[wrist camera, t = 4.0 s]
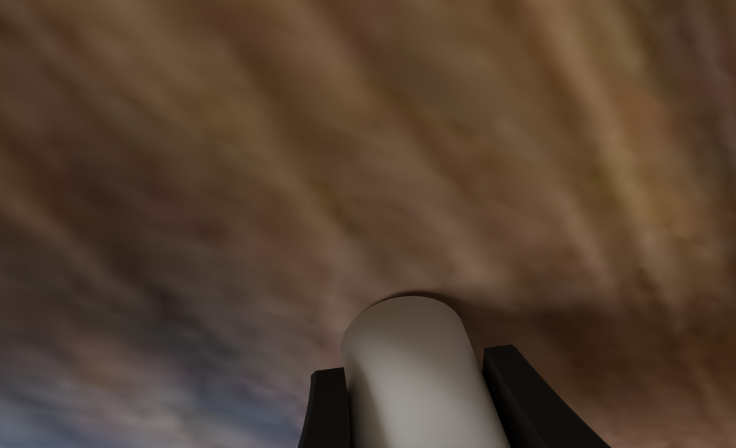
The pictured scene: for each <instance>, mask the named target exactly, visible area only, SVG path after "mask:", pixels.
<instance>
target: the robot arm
mask: <svg viewBox="0 0 736 448" xmlns="http://www.w3.org/2000/svg"><path fill="white" fill-rule="evenodd" d="M482 374H483V377H484V379H485V382H486V385H487V387H488V390H489V392H490V395H491V398H492V400H493V403H494V405H495V408H496V410H497V413H498V416H499V418H500V421H501V423H502V426H503V428H504V431H505V434H506V436H507V439H508V441H509V444H510V446H511V448H611V447H610V446H609V445H608V444H607V443H606V442H604V441H603V440H602V439H601V438H600V437H599V436H598V435H597V434H596V433H595V432H594V431H593V430H592V429H591V428H590V427H589V426H588V425H587V424H586V423H585V422H584V421H583V420H582V419H581V418H580V417H579V416H578V415H577V414H576V413H575V412H574V411H573V410H572V409H571V408H570V407H569V406H568V405H567V404H566V403H565V402H564V401H563V400H562V399H561V398H560V397H559V396H558V395H557V394H556V393H555V391H554V390H553V389H552V388H551V387H550V386H549V385H548V384H547V383H546V382H545V381H544V379H543V378H542V377H541V376H540V375H539V374H538V373H537V372H536V371H535V369H534V368H533V367H532V366H531V365H530V364H529V363H528V361H527V360H526V359H525V358H524V357H523V356H522V354H521V353H520V352H519V351H518V350H517V349H516V348H515V347H514V346H513V345H512V344H511V345H504V346H497V347H489V348H484V358H483V372H482ZM298 448H353V445H352V429H351V420H350V411H349V402H348V394H347V386H346V378H345V370H344V367H341V368H334V369H326V370H319V371H315V372H314V373H313V374H312V375H311V386H310V395H309V402H308V407H307V412H306V417H305V422H304V426H303V430H302V434H301V438H300V442H299V445H298Z"/></svg>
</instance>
